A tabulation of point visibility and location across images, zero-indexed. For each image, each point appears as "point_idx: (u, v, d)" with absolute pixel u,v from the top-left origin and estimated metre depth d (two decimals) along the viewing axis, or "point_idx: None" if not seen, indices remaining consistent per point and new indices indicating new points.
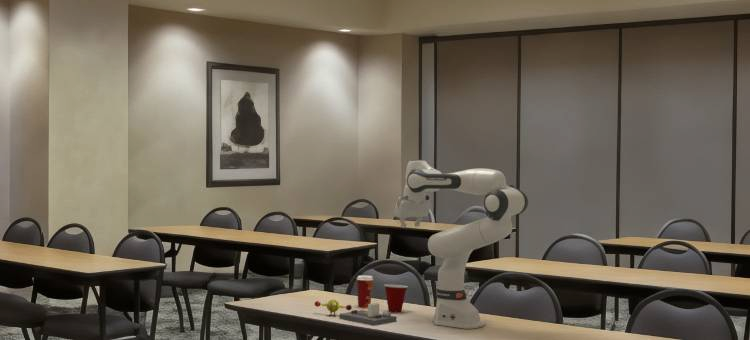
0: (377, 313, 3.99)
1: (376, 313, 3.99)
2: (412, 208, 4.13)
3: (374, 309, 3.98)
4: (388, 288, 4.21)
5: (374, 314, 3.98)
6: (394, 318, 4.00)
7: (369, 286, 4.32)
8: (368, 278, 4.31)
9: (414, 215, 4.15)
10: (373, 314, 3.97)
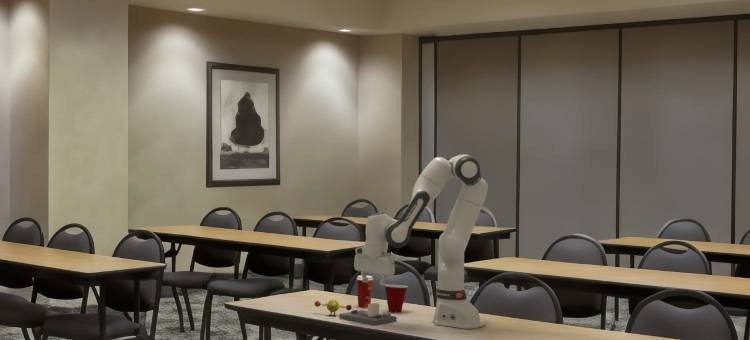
0: (377, 313, 3.99)
1: (376, 313, 3.99)
2: None
3: (374, 309, 3.98)
4: (388, 288, 4.21)
5: (374, 314, 3.98)
6: (394, 318, 4.00)
7: (369, 286, 4.32)
8: (368, 278, 4.31)
9: None
10: (373, 314, 3.97)
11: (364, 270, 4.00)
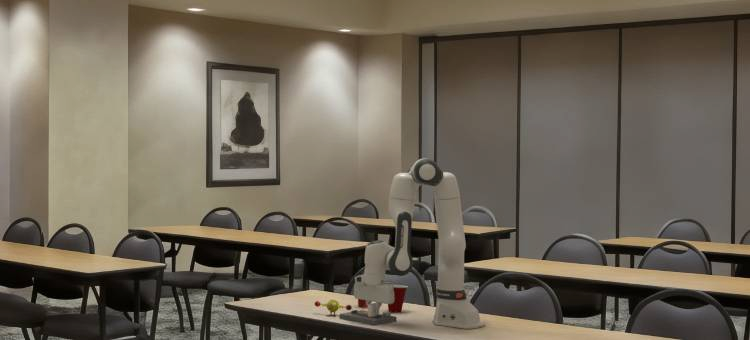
0: (377, 313, 3.99)
1: (376, 313, 3.99)
2: None
3: None
4: None
5: (374, 314, 3.98)
6: (394, 318, 4.00)
7: None
8: None
9: None
10: (373, 314, 3.97)
11: (364, 298, 4.00)
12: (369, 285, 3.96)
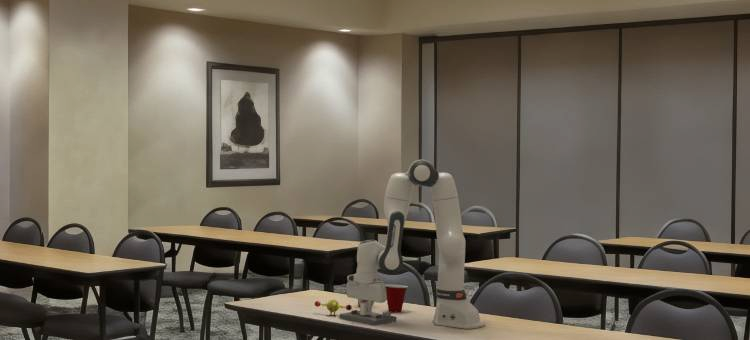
0: (369, 312, 4.02)
1: (368, 312, 4.02)
2: None
3: None
4: (388, 288, 4.21)
5: (366, 313, 4.01)
6: (394, 318, 4.00)
7: None
8: None
9: None
10: (365, 313, 4.00)
11: (356, 297, 4.03)
12: (361, 284, 3.99)
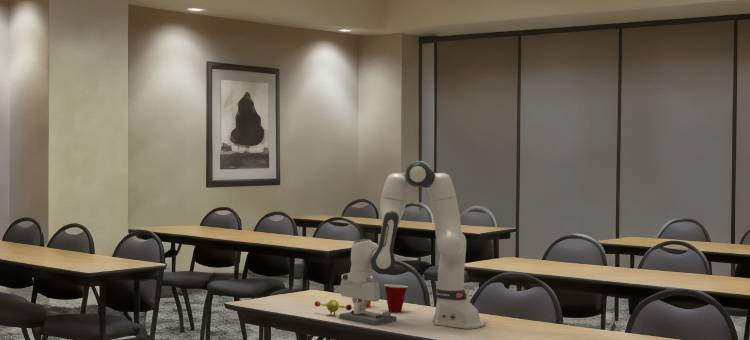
0: (363, 310, 4.05)
1: (362, 310, 4.04)
2: None
3: None
4: (388, 288, 4.21)
5: (360, 311, 4.03)
6: (394, 318, 4.00)
7: None
8: None
9: None
10: (359, 311, 4.03)
11: (350, 296, 4.05)
12: (355, 283, 4.01)
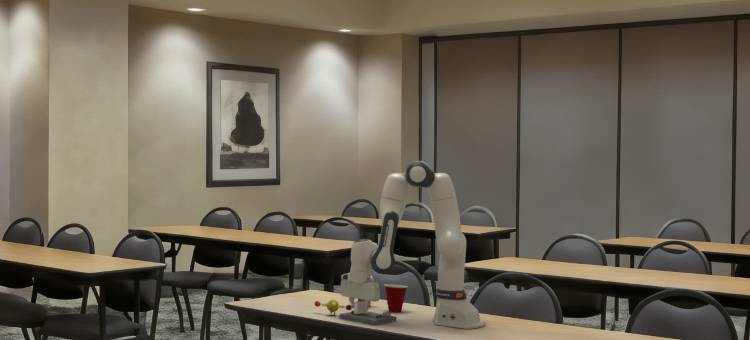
0: (363, 310, 4.05)
1: (362, 310, 4.04)
2: None
3: (360, 307, 4.03)
4: (388, 288, 4.21)
5: (360, 311, 4.03)
6: (394, 318, 4.00)
7: None
8: None
9: None
10: (359, 311, 4.03)
11: (350, 296, 4.05)
12: (355, 283, 4.02)
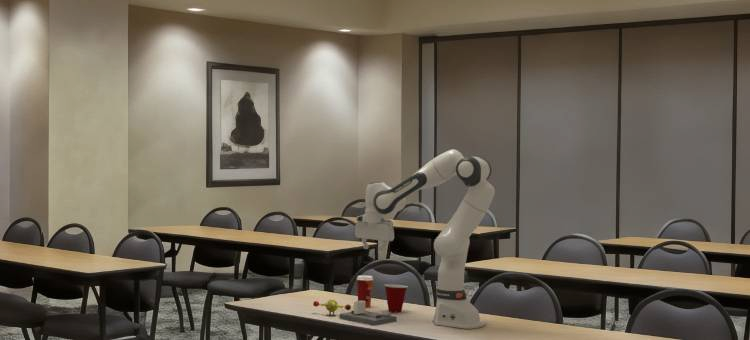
0: (363, 310, 4.05)
1: (362, 310, 4.04)
2: None
3: (360, 307, 4.03)
4: (388, 288, 4.21)
5: (360, 311, 4.03)
6: (394, 318, 4.00)
7: (369, 286, 4.32)
8: (368, 278, 4.31)
9: None
10: (359, 311, 4.03)
11: (365, 237, 4.19)
12: (370, 224, 4.15)
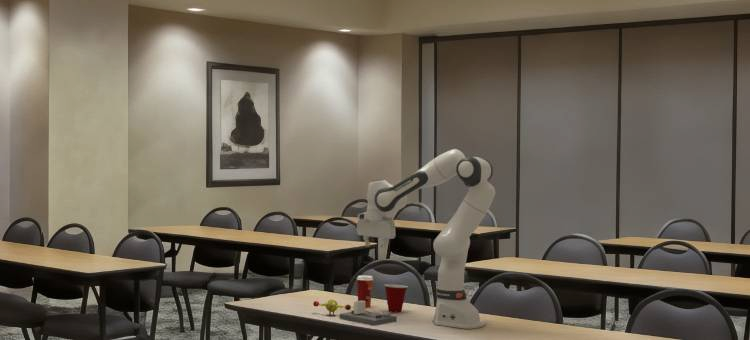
0: (363, 310, 4.05)
1: (362, 310, 4.04)
2: None
3: (360, 307, 4.03)
4: (388, 288, 4.21)
5: (360, 311, 4.03)
6: (394, 318, 4.00)
7: (369, 286, 4.32)
8: (368, 278, 4.31)
9: None
10: (359, 311, 4.03)
11: (366, 234, 4.21)
12: (371, 221, 4.17)
